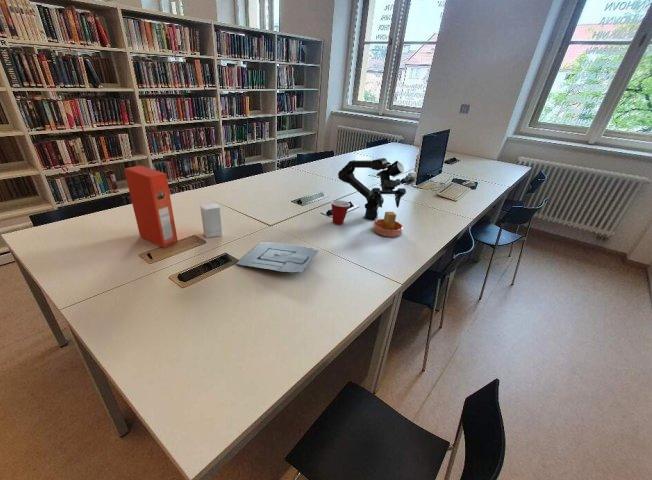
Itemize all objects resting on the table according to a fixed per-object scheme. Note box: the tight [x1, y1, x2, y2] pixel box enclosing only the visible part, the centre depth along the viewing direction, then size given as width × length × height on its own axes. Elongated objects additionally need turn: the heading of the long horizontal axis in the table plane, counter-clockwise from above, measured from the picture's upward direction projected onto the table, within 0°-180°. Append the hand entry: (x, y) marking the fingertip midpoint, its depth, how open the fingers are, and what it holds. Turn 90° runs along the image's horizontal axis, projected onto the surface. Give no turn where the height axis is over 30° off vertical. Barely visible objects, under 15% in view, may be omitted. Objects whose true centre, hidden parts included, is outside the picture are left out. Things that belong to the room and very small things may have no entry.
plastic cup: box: [330, 199, 351, 226], centre depth 177 cm, size 11×11×12 cm
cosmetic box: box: [199, 203, 223, 239], centre depth 154 cm, size 8×6×15 cm
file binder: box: [123, 165, 179, 249], centre depth 142 cm, size 8×17×32 cm, turn 56°
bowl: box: [372, 218, 403, 238], centre depth 174 cm, size 15×15×4 cm
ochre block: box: [382, 211, 397, 230], centre depth 172 cm, size 4×4×10 cm
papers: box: [235, 240, 320, 274], centre depth 140 cm, size 24×30×4 cm
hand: (389, 207), depth 170 cm, fingers open, 9 cm apart
